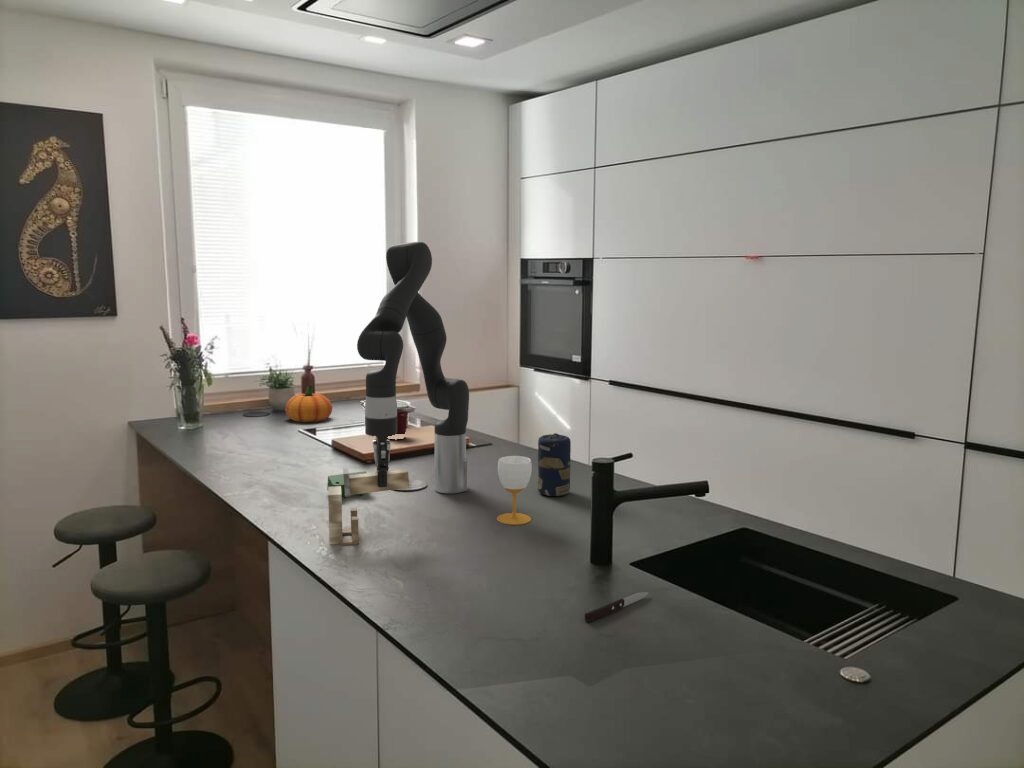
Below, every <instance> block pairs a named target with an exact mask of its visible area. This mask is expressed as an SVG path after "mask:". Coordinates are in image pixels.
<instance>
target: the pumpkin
mask: <svg viewBox="0 0 1024 768" xmlns="http://www.w3.org/2000/svg"><path fill="white" fill-rule="evenodd" d="M284 411H285V413H286V416H287V417H288V418H289V419H290V420H292V421H295V422H297V423H314V422H315V421H317V422H320V421H321V422H322V421H323V420H326V419H328V418H330V416H331V414H332V412H333V404H332V402H331V400H330V399H329V398H328V397H326V396H325V395H323V394H320V393H313V390H312V385H308V386H307V388H306V389H305V392H304V393H299V394H296V395H294V396H292V397H291V398H290V399H289V400H288V401H287V402H286V404H285V409H284ZM315 423H316V422H315Z"/></svg>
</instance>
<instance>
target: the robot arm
mask: <svg viewBox="0 0 1024 768" xmlns="http://www.w3.org/2000/svg"><path fill="white" fill-rule="evenodd" d="M385 253H386V254H385V258H386V259H385V260H386V261H385V262H386V266H387V269H388V273H389V275H390V277H391V278H390V279H391V280H392V282H393V284H394V286H393V287H391V289H389V290H388V291H387V293H386V294H385V295H384V296H383V297H382V299H381V301H380V303H379V306H378V309H377V312H376V314H375V316H374V317H373V318H372V319H371V321H370V322H369V323H367V325H366V326H364V328H363V330H362V331H361V332H360V334H359V336H358V339H357V344H356V349H357V353H358V355H359V356H360V357H361V358H362V359H363V360H366V361H380V362H382V361H384V362H385V364H384V366H383V367H382V368H379V369H375V370H371V371H368V372H367V373H366V375H365V404H364V420H365V421H364V423H365V426H364V429H365V435H367V436H369V437H375V439H374V440H372V449H373V460H374V462H375V465H374V466H375V467H376V472H378V487H386V486H387V472H388V471H389V469H390V468H389V462H390V450H391V442H390V440H388V439H387V437H388V436H392V435H395V434H396V433H397V408H398V403H397V381H396V380H397V376H398V375H397V374H398V368H399V364H400V361H401V357H402V355H403V349H404V341H403V338H402V336H401V334H400V332H401V331H402V329H403V327H404V324H405V321H406V319H407V323H408V326H409V331H410V334H411V337H412V340H413V343H414V346H415V349H416V351H417V355H418V359H419V362H420V366H421V370H422V373H423V379H424V384H425V388H426V394H427V397H428V401H429V403H430V405H432V407H433V408H435V409H439V410H446V411H448V415H447V418H446V419H442V420H439V421H437V422H436V423H435V424H434V428H433V429H434V491H436V493H437V492H438V493H442V494H459V493H462V492H468V459H467V425H468V421H469V406H470V405H469V404H470V389H469V385H468V383H467V382H466V381H465V380H463V379H458V378H449V377H445V375H444V373H443V369H442V365H441V364H442V363H441V360H442V357H443V355H444V352H445V348H446V344H447V331H446V329H445V325H444V322H443V319H442V317H441V315H440V313H439V311H438V310H437V309H436V308H435V307H434V306H433V305H432V304H431V303H429V301H427V300H426V298H424V297H423V296H422V295H421V294H420V293H419V291H420V289H421V288H422V287H423V284H424V283H425V282H426V280H427V278H428V276H429V275H430V272H431V270H432V266H433V256H432V252H431V249H430V247H429V246H428V245H427V243H425V242H423V241H414V242H406V243H398V244H393V245H390V246H389V247H388V248H387V249H386V252H385Z"/></svg>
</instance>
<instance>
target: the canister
mask: <svg viewBox="0 0 1024 768" xmlns="http://www.w3.org/2000/svg"><path fill="white" fill-rule="evenodd" d="M537 443H538V444H537V446H538V447H537V490H538V491H537V492H538V493H539V494H541V495H544V496H549V497H561V496H565V495H567V494H569V492H570V490H571V450H572V448H571V439H570V438H569V436H567V435H564V434H559V433H556V432H555V433H553V434H545V435H541V436H539V438H538V440H537Z"/></svg>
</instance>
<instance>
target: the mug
mask: <svg viewBox="0 0 1024 768" xmlns="http://www.w3.org/2000/svg"><path fill="white" fill-rule="evenodd" d="M407 421H408V410H407V409H406V408H399V407H397V433H396V434H405V432H406V433H407V423H408V422H407Z"/></svg>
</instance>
